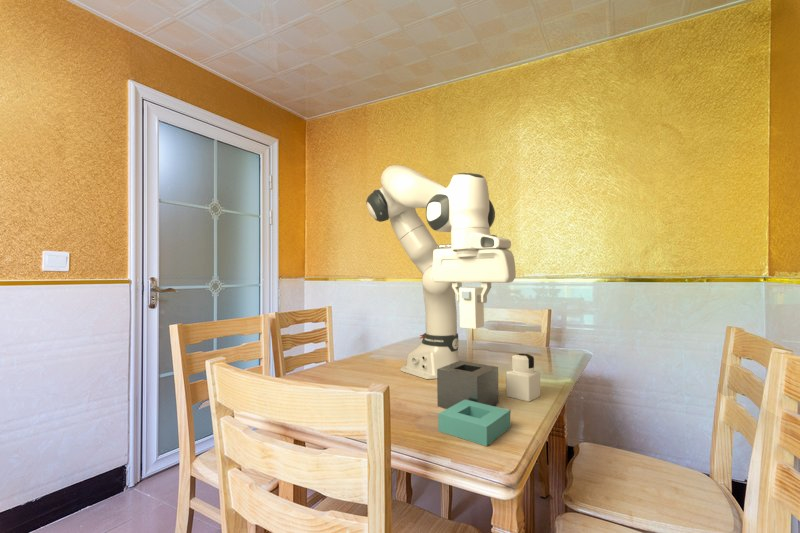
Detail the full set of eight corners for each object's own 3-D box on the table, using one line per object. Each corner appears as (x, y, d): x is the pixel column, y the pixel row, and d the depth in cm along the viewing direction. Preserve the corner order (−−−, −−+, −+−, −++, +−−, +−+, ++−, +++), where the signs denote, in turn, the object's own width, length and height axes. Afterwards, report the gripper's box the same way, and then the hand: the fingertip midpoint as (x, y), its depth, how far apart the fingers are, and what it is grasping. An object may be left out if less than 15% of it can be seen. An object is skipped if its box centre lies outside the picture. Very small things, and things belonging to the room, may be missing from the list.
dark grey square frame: (437, 406, 102) (437, 369, 102) (460, 394, 111) (459, 360, 111) (477, 416, 94) (477, 376, 94) (498, 403, 103) (498, 366, 104)
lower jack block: (438, 431, 86) (438, 413, 86) (465, 415, 95) (464, 399, 95) (486, 446, 78) (486, 427, 79) (510, 427, 88) (510, 410, 88)
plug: (458, 327, 86) (457, 288, 86) (468, 325, 90) (468, 287, 90) (473, 329, 84) (472, 288, 84) (484, 326, 87) (483, 287, 88)
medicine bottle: (518, 390, 114) (517, 351, 114) (540, 396, 109) (540, 354, 109) (505, 396, 109) (505, 354, 109) (529, 402, 104) (528, 358, 104)
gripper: (426, 244, 92) (427, 301, 92) (505, 238, 79) (507, 305, 78) (440, 245, 97) (441, 299, 96) (517, 240, 83) (519, 303, 83)
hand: (471, 302), depth 87 cm, fingers closed on plug, 4 cm apart
